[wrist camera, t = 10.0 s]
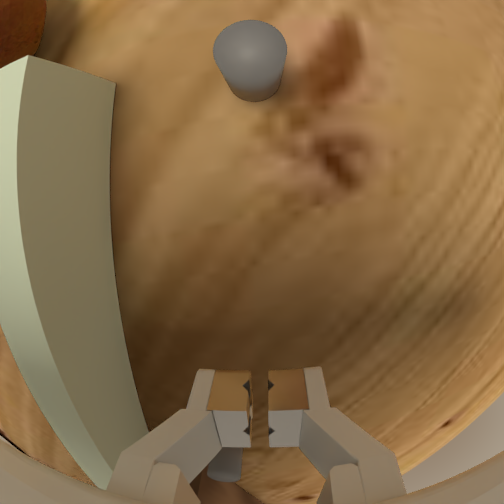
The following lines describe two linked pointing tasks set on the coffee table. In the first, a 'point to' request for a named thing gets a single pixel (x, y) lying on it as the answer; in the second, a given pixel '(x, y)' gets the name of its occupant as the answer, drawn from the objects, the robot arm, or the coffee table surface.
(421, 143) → the coffee table surface
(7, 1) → the fruit
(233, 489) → the brown rectangular box
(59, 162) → the rail
